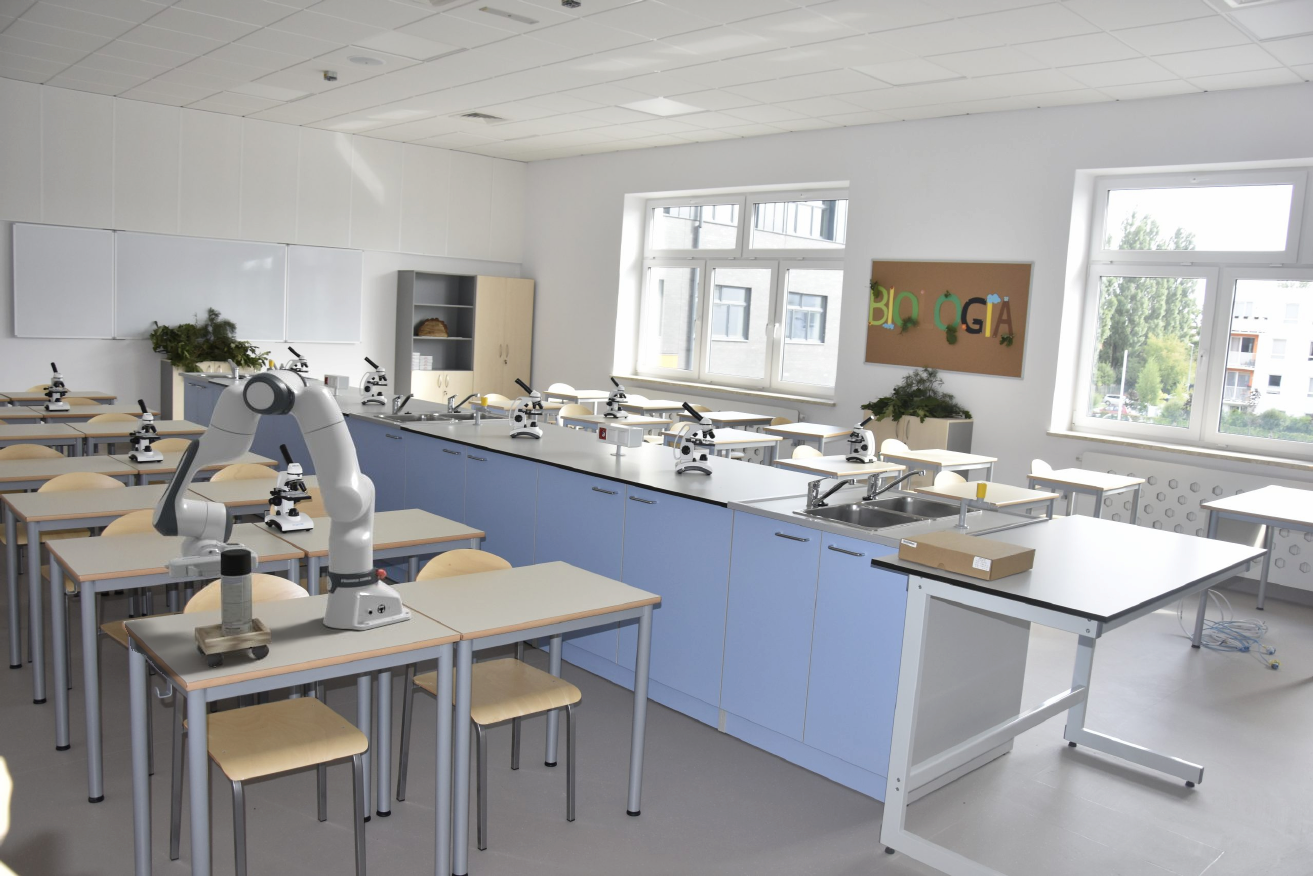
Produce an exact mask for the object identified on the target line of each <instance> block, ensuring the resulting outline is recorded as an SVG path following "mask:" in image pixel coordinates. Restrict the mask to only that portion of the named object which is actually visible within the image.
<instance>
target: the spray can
mask: <svg viewBox="0 0 1313 876" xmlns="http://www.w3.org/2000/svg"><path fill="white" fill-rule="evenodd" d="M252 575H253V574H252V569H251V552H250V551H248V550H245V549H231V550H226V551H223V552H221V574H220V604H221V605H220V606H221V607H220V608H221V609H220V610H221V612H220V613H221V615H220V616H221V617H220V618H221V624H222V636H223V637H228V636H235V635H241V634H247V633H252V619H253V591H252V590H253V589H252V588H253V585H252V583H253V581H252V580H253V579H252V578H253V576H252Z"/></svg>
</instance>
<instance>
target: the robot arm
mask: <svg viewBox="0 0 1313 876" xmlns="http://www.w3.org/2000/svg"><path fill="white" fill-rule="evenodd" d="M218 397H219V398H218V400H217V401H216V403H215V406H214V409H213V412H212V414H211V417H210V422H209V425H208V426H207V429H206V430H205V431H204V433H203V434H202V435H201V436H200V437H199V438H198V439H193V440H192V441H190V442H189V444H188V446H187V447H186V448H185V450H184V452H183V453H182V456H181V458H180V460H179V462H178V464H177V466H176V468H175V470H174V471H173V474H172V477H171V479H170V481H169V482H168V484H167V487H166V488H165V491H164V493H163V494H162V495H161V498H160V500H159V501H158V503H157V505H156V507H155V508H154V510H153V513H152V523H151V524H152V526H153V528H154V529H155V530H156V531H157V532H158V533H159V534H160V535H161V536H163V537H184V539H183V541H182V542H181V546H180V554H181V557H174V558H172V559H170V560H169V562H168V563H164V565H163V566H164V568H165V569H166V570H169V571H168V572H169V578H171V579H183V578H192V577H195V578H200V577H202V578H206V579H207V578H213V577H217V576H218V575H221V552H223V551H226V550H231V549H245V550H248V551H250V552H251V570H255V569H257V568H258V567H259V556H258V554H257V552H255V551H254V550H253V549H251V548H249V547H246V546H245V544H244V543H238V542H237V543H235V542H234V543H233V542H232V543H229V542H228V541H229V540H230V537H231V535H232V533H233V532H232V531H233V526H234V518H233V517H234V516H233V514H232V511H231V510H230V508H229V507H228V506H227V505H226V503H222V502H217V501H208V500H207V501H206V500H198V499H187V498H184V497H185V495H186V493H187V491H188V488H189V486H190V484H191V483H192V481H193V479H194V477H195V474H196V473H198V471H200V470H201V469H203V468H206V467H208V466H212V465H217V464H223V463H228V462H233V461H235V460H238V459H240V458H241V457H243V456H244V455H246V454H247V453H248V452H249V451H250V450H251V449H250V448H251V447H252V445H253V442H254V439H255V436H256V431H257V429H258V423H259V421H260V419H261V417H262V415H263V416H286V415H288V414H290V415H291V416H293V417H294V418H295V420H296V422H297V425H298V426H299V429H300V432H301V434H302V438H303V440H304V442H305V445H306V447H307V450H308V452H309V453H308V454H309V455H310V458H311V460H312V464H313V467H314V472H315V476H316V480H317V483H318V487H319V488H318V489H319V491H320V494H321V495H320V496H321V499H322V502H323V503H322V504H323V507H324V511H325V513H326V514H327V516H328V517H330V528H329V536H328V569H327V572H326V574H327V575H326V588H327V592H328V593H327V603H326V610H325V614H324V616H323V620H322V623H323V624H324V626H326V627H329V628H333V629H343V630H345V629H347V630H356V631H365V630H371V629H374V628H379V627H383V626H387V625H391V624H396V623H400V622H405V621H408V620H411V618H412V612H411V610H410V609H408V608H406V607H405V606H403V601H402V598H401V595H400V593H399V592H398V591H397V590H395V589H394V588H393V587H391V586H389V585H388V584H386V583H385V582H384V581H382V580H381V579H384V578H386V577H387V572H386V571H385V570H384V569H379V568H377V567H375V566H374V562H373V561H374V559H373V558H374V557H373V556H374V554H373V553H374V552H373V548H374V547H373V546H374V545H373V539H374V524H375V505H376V502H375V501H376V489H375V488H376V487H375V485H374V482H373V480H372V479H371V478H370V477H368V475H366V474H364V473H362V472H361V468H360V464H359V461H358V460H359V459H358V455H357V449H356V447H355V443H354V441H353V438H352V435H351V433H350V431H349V427H348V425H347V422H346V420H345V417H344V414H343V412H342V410H341V408H340V406H339V404H338V401H337V400H336V398H335V397H334V395H333V393H332V392H331V390H330V389H329V388H328V387H327V386H325V385H322V384H312V385H311V384H310V385H308V384H307V381H306V379H305V377H304V376H303V375H302V374H301V373H300V372H298V371H296V370H294V369H289V368H280V369H270V370H266V371H263V372H261V373H257V374H255V375H253V376H252V377H249V379H248V381H246V382H245V384H244V385H241V384H233V385H228V386H227V387H225V388H224V389H222V391H221V393H220V395H219V396H218Z"/></svg>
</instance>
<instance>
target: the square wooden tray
mask: <svg viewBox="0 0 1313 876" xmlns="http://www.w3.org/2000/svg"><path fill="white" fill-rule="evenodd" d="M271 633H272V632H271V630H270V629H269V628H268V627H267V626H266V625H265V624H264V623H263V622H262V621H261V620H260V619H259V618H257V617H256V618H252V633H247V634H241V635H235V636H228V637H223V636H222V623H216V624H210V625H204V626H203V625H202V626H197V627H194V640H195V643H197V645H196V649H197V651H198V652H199V654H200V655H202V656H205V658H204V660H205V662H206V664H207V665H208V666H209V667H211V668H215V667H214V666H217V667H219V666H220V665H221V664H222V663H223V662H224V656H223V654H222V653H225V652H230V651H236V650H243V649H248V648H249V649H251V654H252V656H254V657H255V659H258V660H262V659H264V658H266V657H267V656H268V655H269V653H270V648H269V646H268V645H271V644H272V641H271V638H272V634H271ZM250 647H252V648H250Z"/></svg>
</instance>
